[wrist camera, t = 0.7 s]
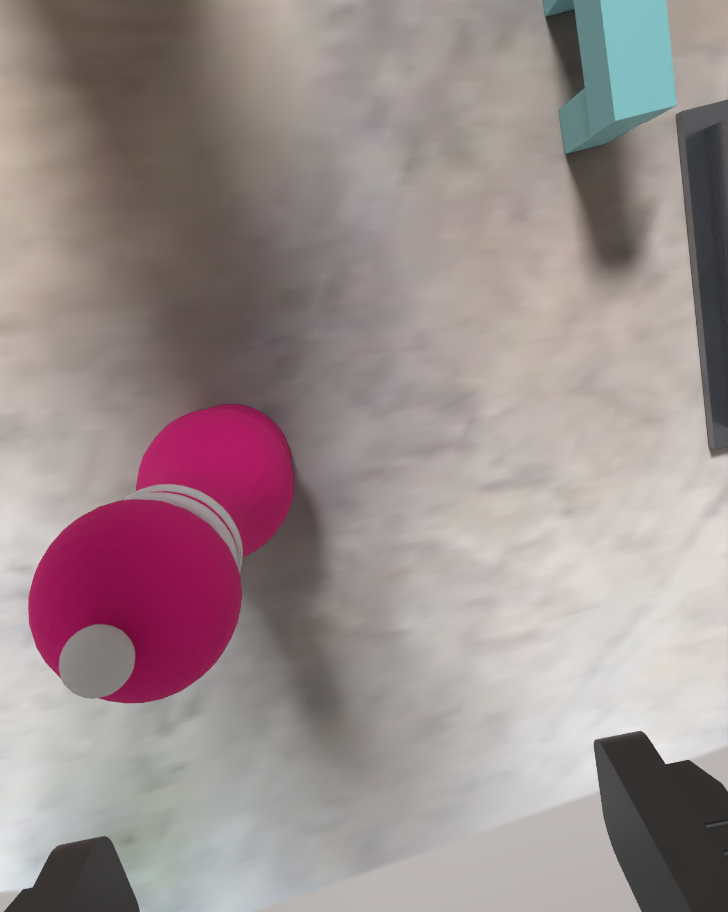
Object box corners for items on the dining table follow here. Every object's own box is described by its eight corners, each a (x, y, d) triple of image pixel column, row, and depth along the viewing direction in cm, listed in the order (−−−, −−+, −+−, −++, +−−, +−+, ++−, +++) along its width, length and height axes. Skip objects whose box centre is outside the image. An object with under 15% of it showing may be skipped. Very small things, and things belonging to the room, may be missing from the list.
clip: (534, -32, 29) (585, -122, 22) (586, -45, 28) (652, -140, 22) (561, 155, 31) (614, 120, 24) (609, 142, 31) (676, 105, 24)
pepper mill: (324, 434, 34) (288, 626, 15) (264, 543, 36) (160, 847, 16) (202, 370, 33) (-9, 485, 14) (146, 485, 35) (-115, 735, 15)
